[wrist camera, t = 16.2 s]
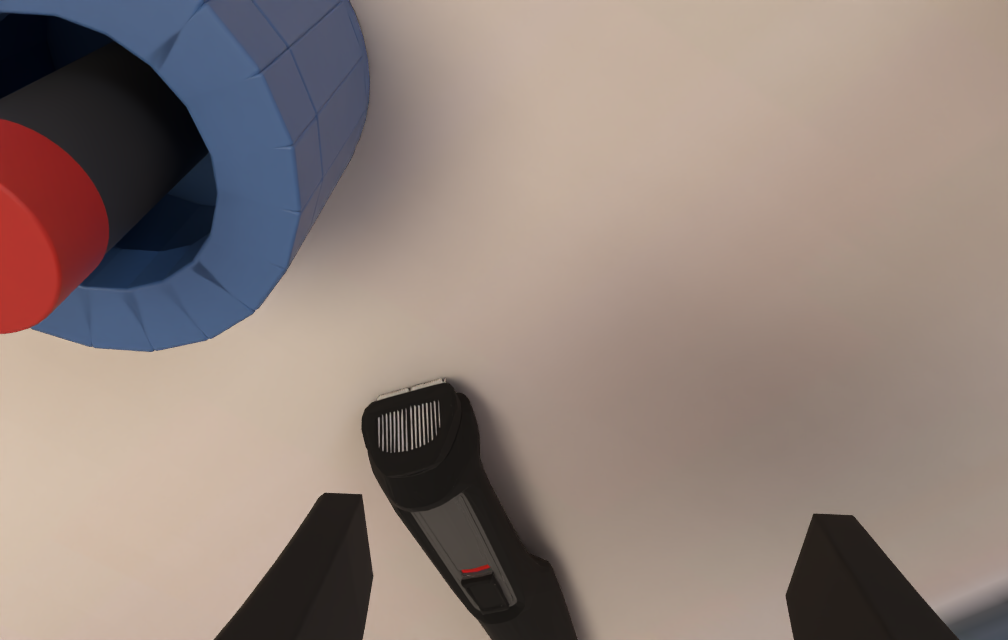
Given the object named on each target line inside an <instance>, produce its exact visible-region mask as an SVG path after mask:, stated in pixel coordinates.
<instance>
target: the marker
mask: <svg viewBox="0 0 1008 640" xmlns="http://www.w3.org/2000/svg"><path fill="white" fill-rule="evenodd" d="M208 153H209V151H208V149H207V147H206V145H205V143H204V141H203V139H202V137H201V135H200V133H199V131H198V129H197V127H196V125H195V123H194V121H193V119H192V117H191V115H190V113H189V111H188V109H187V107H186V106H185V105H184V104H183V103H182V101H181V100H180V99H179V98H178V97H177V96H176V95H175V93H174V92H173V91H172V90H171V89H170V88H169V87H168V85H167V84H166V83H165V82H164V81H163V80H162V79H161V77H160V76H159V75H158V74H157V73H156V72H155V71H154V69H153V68H152V67H151V66H150V65H148V64H147V63H145V62H144V61H143V60H141V59H140V58H138V57H137V56H135V55H134V54H133V53H131V52H130V51H128V50H127V49H125V48H124V47H123V46H121V45H120V44H118V43H117V42H115V41H113V42H111V43H109V44H107V45H105V46H103V47H101V48H99V49H97V50H95V51H93V52H91V53H89V54H88V55H86V56H84V57H82V58H80V59H78V60H76V61H74V62H72V63H70V64H68V65H66V66H64V67H62V68H60V69H58V70H56V71H54V72H52V73H50V74H48V75H46V76H44V77H43V78H41V79H39V80H37V81H35V82H33V83H31V84H29V85H27V86H25V87H23V88H21V89H19V90H17V91H15V92H13V93H11V94H9V95H7V96H5V97H3V98H1V99H0V334H6V333H13V332H18V331H21V330H25V329H28V328H30V327H32V326H35V325H37V324H39V323H40V322H41V321H43V320H44V319H45V318H47V317H48V316H49V315H50V314H51V313H52V312H53V311H54V310H55V309H56V308H57V307H58V306H59V305H60V304H61V303H62V302H63V301H64V300H65V299H66V298H67V297H68V296H69V295H70V294H71V293H72V292H73V291H74V290H75V289H76V288H77V287H78V286H79V285H80V284H81V283H82V282H83V281H84V280H85V279H86V278H87V277H88V276H89V275H90V274H91V273H92V272H93V271H94V270H95V269H96V268H97V267H98V265H99V264H100V262H101V261H102V259H103V257H104V255H105V254H106V253H107V252H108V251H109V250H110V249H111V248H112V247H113V246H114V245H115V244H116V243H117V242H119V241H120V240H121V239H122V238H123V237H124V236H125V235H126V234H127V233H128V232H129V231H130V230H131V229H132V228H133V227H134V226H135V225H136V224H137V223H138V222H139V221H140V220H141V219H142V218H143V217H144V216H145V215H146V214H147V213H148V212H149V211H150V210H151V209H152V208H153V207H154V206H155V205H156V204H157V203H158V202H159V201H160V200H161V199H162V198H163V197H164V196H165V195H166V194H167V193H168V192H169V191H170V190H171V189H172V188H173V187H174V186H175V185H176V184H177V183H178V182H179V181H180V180H181V179H182V178H183V177H184V176H185V175H186V174H187V173H188V172H189V171H190V170H192V169H193V168H194V167H195V166H196V165H197V164H198V163H199V162H200V161H201V160H202V159H203V158H204V157H205V156H206V155H207V154H208Z"/></svg>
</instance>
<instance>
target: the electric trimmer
mask: <svg viewBox="0 0 1008 640" xmlns="http://www.w3.org/2000/svg"><path fill="white" fill-rule="evenodd" d="M362 433H363V437H364V441H365V445H366V448H367V450H368V456H369V460H370V464H371V467H372V471H373V473H374V475H375V477H376V479H377V481H378V483H379V485H380V486H381V488H382V490H383V491H384V493H385V495H386V496H387V498H388V500H389V501H390V503H391V505H392V507H393V508H394V510H395V512H396V513H397V514H398V516H399V517H400V519H401V520H402V521H403V523H404V524H405V525H406V527H407V528H408V530H409V531H410V532H411V534H412V535H413V536H414V538H415V539H416V541H417V542H418V543H419V545H420V546H421V548H422V549H423V550H424V552H425V553H426V554H427V556H428V557H429V559H430V560H431V561H432V563H433V564H434V565H435V567H436V568H437V570H438V571H439V572H440V574H441V575H442V577H443V578H444V579H445V581H446V582H447V583H448V585H449V586H450V588H451V589H452V590H453V592H454V593H455V594H456V595H457V597H458V598H459V599H460V600H461V602H462V603H463V604H464V605H465V607H466V608H467V609H468V610H469V612H470V613H471V614H472V615H473V616H474V617H475V618H476V619H477V620H478V621H479V622H480V624H481V625H482V627H483V628H484V629H485V631H486V632H487V634H488V635H489V636H490V638H491V639H492V640H578V639H577V636H576V633H575V630H574V627H573V624H572V621H571V618H570V615H569V612H568V609H567V606H566V603H565V600H564V597H563V594H562V591H561V588H560V586H559V583H558V581H557V578H556V576H555V573H554V570H553V568H552V566H551V565H550V563H549V562H548V561H546V560H544V559H541V558H539V557H536V556H534V555H532V554H529V553H527V551H526V550H525V548H524V547H523V545H522V543H521V542H520V540H519V538H518V536H517V534H516V532H515V530H514V529H513V527H512V525H511V523H510V521H509V519H508V517H507V515H506V513H505V511H504V510H503V508H502V506H501V504H500V502H499V500H498V498H497V496H496V494H495V492H494V491H493V489H492V487H491V485H490V483H489V481H488V478H487V476H486V474H485V472H484V470H483V466H482V463H481V460H480V439H479V430H478V425H477V421H476V418H475V414H474V411H473V409H472V406H471V404H470V401H469V399H468V398H467V397H466V396H465V395H464V394H462V393H456V392H455V390H454V388H453V387H452V386H451V385H450V384H449V383H445V379H444V383H443V381H442V379H438V381H437V380H436V382H435V379H434V383H433V381H432V383H431V381H430V383H425V385H424V384H423V385H422V383H421V386H420V384H419V387H418V384H417V387H416V385H415V387H414V386H413V387H411V391H409V390H408V388H406V389H405V388H404V391H403V389H402V391H401V389H400V392H399V390H398V393H397V390H396V392H394V393H393V392H392V393H390V394H388V393H387V395H384V394H383V396H382V395H381V397H380V395H379V397H378V399H377V401H375V402H372V403H371V404H370V405H369V406H368V407H367V408H366V409H365V411H364V414H363V416H362Z"/></svg>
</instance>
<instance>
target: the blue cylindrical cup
mask: <svg viewBox="0 0 1008 640" xmlns="http://www.w3.org/2000/svg"><path fill="white" fill-rule="evenodd" d="M113 41H115V42H117V43H118V44H120V45H121V46H123V47H124V48H125V49H127V50H128V51H130V52H131V53H133V54H134V55H135V56H137V57H138V58H140V59H141V60H143V61H144V62H145V63H147V64H148V65H150V66H151V67H152V68H153V69H154V71H155V72H156V73H157V74H158V75H159V76H160V77H161V79H162V80H163V81H164V82H165V83H166V84H167V85H168V87H169V88H170V89H171V90H172V91H173V92H174V93H175V95H176V96H177V97H178V98H179V99H180V100H181V101H182V103H183V104H184V105H185V106H186V107H187V109H188V111H189V113H190V115H191V117H192V119H193V121H194V123H195V125H196V127H197V129H198V131H199V133H200V135H201V137H202V139H203V141H204V143H205V145H206V147H207V149H208V151H209V153H208V154H207V155H206V156H205V157H204V158H203V159H202V160H201V161H200V162H199V163H198V164H197V165H196V166H195V167H194V168H193V169H192V170H190V171H189V172H188V173H187V174H186V175H185V176H184V177H183V178H182V179H181V180H180V181H179V182H178V183H177V184H176V185H175V186H174V187H173V188H172V189H171V190H170V191H169V192H168V193H167V194H166V195H165V196H164V197H163V198H162V199H161V200H160V201H159V202H158V203H157V204H156V205H155V206H154V207H153V208H152V209H151V210H150V211H149V212H148V213H147V214H146V215H145V216H144V217H143V218H142V219H141V220H140V221H139V222H138V223H137V224H136V225H135V226H134V227H133V228H132V229H131V230H130V231H129V232H128V233H127V234H126V235H125V236H124V237H123V238H122V239H121V240H120V241H119V242H117V243H116V244H115V245H114V246H113V247H112V248H111V249H110V250H109V251H108V252H107V253H106V254H105V255H104V257H103V259H102V261H101V262H100V264H99V265H98V267H97V268H96V269H95V270H94V271H93V272H92V273H91V274H90V275H89V276H88V277H87V278H86V279H85V280H84V281H83V282H82V283H81V284H80V285H79V286H78V287H77V288H76V289H75V290H74V291H73V292H72V293H71V294H70V295H69V296H68V297H67V298H66V299H65V300H64V301H63V302H62V303H61V304H60V305H59V306H58V307H57V308H56V309H55V310H54V311H53V312H52V313H51V314H50V315H49V316H48V317H47V318H45V319H44V320H43V321H41V322H40V323H39V324H37V325H35V326H32V327H30V328H31V329H33V330H37V331H40V332H43V333H46V334H50V335H53V336H56V337H59V338H63V339H66V340H69V341H72V342H76V343H79V344H82V345H85V346H89V347H92V346H93V347H94V348H102V349H117V350H132V351H147V352H152V351H154V350H156V351H159V350H163V349H168V348H173V347H177V346H182V345H187V344H192V343H196V342H201V341H206V340H208V339H212V338H214V337H215V336H217V335H219V334H220V333H222V332H224V331H225V330H227V329H229V328H230V327H232V326H234V325H235V324H237V323H239V322H240V321H242V320H244V319H245V318H247V317H249V316H250V315H252V314H253V313H254V312H255V310H256V309H258V308H259V307H260V306H261V305H262V303H263V302H264V301H265V299H266V298H267V297H268V295H269V294H270V293H271V291H272V290H273V289H274V287H275V286H276V285H277V283H278V282H279V280H280V279H281V278H282V276H283V275H284V274H285V272H286V271H287V269H288V267H289V266H290V264H291V262H292V260H293V259H294V257H295V255H296V254H297V252H298V250H299V248H300V247H301V245H302V243H303V241H304V240H305V238H306V236H307V234H308V233H309V231H310V229H311V228H312V226H313V224H314V222H315V221H316V219H317V217H318V216H319V214H320V212H321V210H322V209H323V207H324V205H325V203H326V202H327V200H328V198H329V196H330V195H331V193H332V191H333V189H334V188H335V186H336V184H337V182H338V181H339V179H340V177H341V175H342V174H343V172H344V170H345V169H346V167H347V165H348V163H349V162H350V160H351V158H352V156H353V154H354V151H355V147H356V145H357V143H358V141H359V139H360V136H361V133H362V130H363V127H364V124H365V121H366V115H367V110H368V104H369V88H370V77H369V66H368V57H367V52H366V48H365V43H364V38H363V35H362V32H361V29H360V26H359V23H358V20H357V17H356V14H355V12H354V10H353V8H352V6H351V4H350V2H349V0H0V99H1V98H3V97H5V96H7V95H9V94H11V93H13V92H15V91H17V90H19V89H21V88H23V87H25V86H27V85H29V84H31V83H33V82H35V81H37V80H39V79H41V78H43V77H44V76H46V75H48V74H50V73H52V72H54V71H56V70H58V69H60V68H62V67H64V66H66V65H68V64H70V63H72V62H74V61H76V60H78V59H80V58H82V57H84V56H86V55H88V54H89V53H91V52H93V51H95V50H97V49H99V48H101V47H103V46H105V45H107V44H109V43H111V42H113Z"/></svg>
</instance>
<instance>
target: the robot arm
mask: <svg viewBox="0 0 1008 640" xmlns="http://www.w3.org/2000/svg"><path fill="white" fill-rule="evenodd" d="M372 580H373V571H372V564H371V557H370V550H369V542H368V535H367V528H366V520H365V513H364V506H363V499H362V494H341V493H324V494H323V495H321V496H320V497H319V498H318V499H317V501H316V503H315V504H314V506H313V507H312V509H311V510H310V512H309V514H308V515H307V517H306V518H305V520H304V521H303V523H302V524H301V526H300V527H299V529H298V530H297V532H296V533H295V534H294V536H293V537H292V539H291V540H290V542H289V543H288V545H287V546H286V547H285V549H284V550H283V552H282V553H281V554H280V556H279V557H278V559H277V560H276V561H275V563H274V564H273V565H272V567H271V568H270V569H269V571H268V572H267V573H266V575H265V576H264V577H263V579H262V580H261V581H260V583H259V584H258V585H257V587H256V588H255V589H254V591H253V592H252V593H251V594H250V596H249V597H248V598H247V600H246V601H245V602H244V604H243V605H242V606H241V607H240V609H239V610H238V611H237V612H236V614H235V615H234V616H233V617H232V619H231V620H230V621H229V622H228V623H227V624H226V626H225V627H224V628H223V629H222V630H221V632H220V633H219V634H218V635H217V636H216V638H215V639H214V640H362V639H363V634H364V628H365V623H366V617H367V611H368V605H369V599H370V593H371V587H372ZM786 601H787V606H788V611H789V617H790V622H791V627H792V633H793V637H794V640H959V639H958V638H957V637H956V635H955V634H954V633H953V632H952V631H951V630H950V629H949V628H948V627H947V625H946V624H945V623H944V622H943V621H942V620H941V619H940V618H939V616H938V615H937V614H936V613H935V612H934V611H933V610H932V608H931V607H930V606H929V605H928V604H927V603H926V602H925V600H924V599H923V598H922V597H921V596H920V595H919V593H918V592H917V591H916V590H915V589H914V587H913V586H912V585H911V584H910V583H909V582H908V580H907V579H906V578H905V577H904V576H903V574H902V573H901V572H900V571H899V570H898V569H897V567H896V566H895V565H894V564H893V563H892V561H891V560H890V559H889V558H888V557H887V555H886V554H885V553H884V552H883V550H882V549H881V548H880V547H879V546H878V544H877V543H876V542H875V541H874V540H873V538H872V537H871V536H870V535H869V534H868V532H867V531H866V530H865V529H864V528H863V527H862V525H861V524H860V523H859V522H858V521H857V519H856V518H855V517H854V516H853V515H834V514H813V517H812V520H811V523H810V525H809V528H808V531H807V534H806V537H805V540H804V543H803V546H802V549H801V552H800V555H799V558H798V561H797V563H796V566H795V569H794V572H793V575H792V578H791V581H790V584H789V587H788V590H787V593H786Z"/></svg>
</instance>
